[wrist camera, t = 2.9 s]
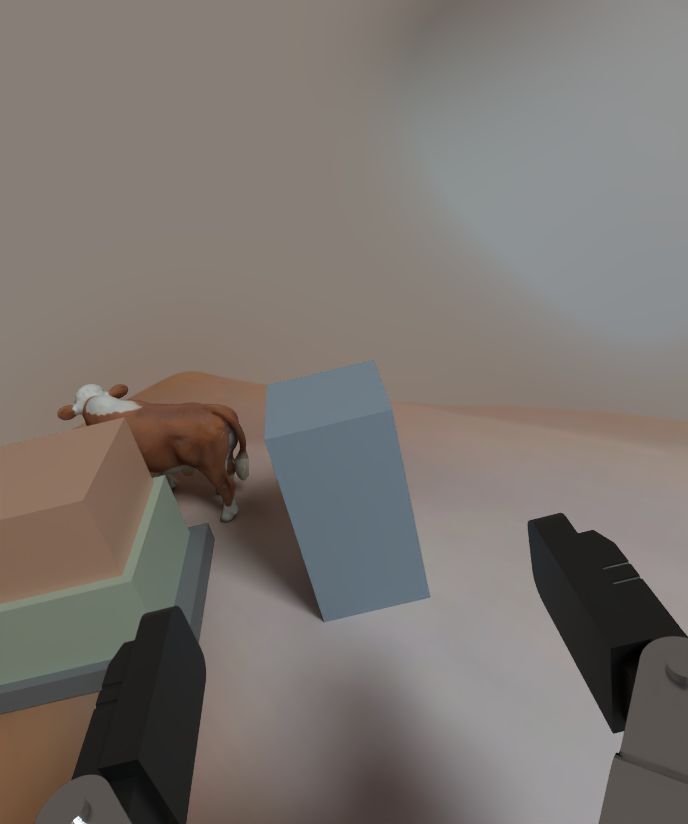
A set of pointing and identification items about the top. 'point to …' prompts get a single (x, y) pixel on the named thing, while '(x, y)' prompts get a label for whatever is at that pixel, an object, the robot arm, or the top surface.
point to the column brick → (346, 489)
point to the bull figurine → (174, 436)
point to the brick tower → (86, 559)
